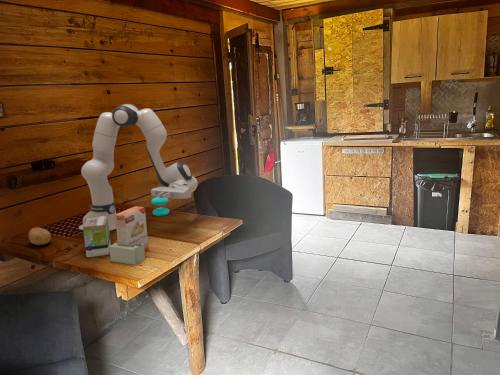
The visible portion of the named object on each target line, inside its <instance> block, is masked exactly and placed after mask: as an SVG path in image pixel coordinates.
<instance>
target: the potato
mask: <svg viewBox="0 0 500 375" xmlns="http://www.w3.org/2000/svg"><path fill="white" fill-rule="evenodd" d="M51 239H52V234H51V233H50V231H49V230H47V229H45V228H41V227H33V228H31V229H30V230H29V231H28V240H29V241H30V243H31V244H33V245H36V246H42V245H43V246H44V244H45V245H47V244H48V243H50V242H51V241H50V240H51Z"/></svg>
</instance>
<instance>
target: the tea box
mask: <svg viewBox="0 0 500 375" xmlns="http://www.w3.org/2000/svg"><path fill="white" fill-rule="evenodd" d="M82 232H83V237H84V245H85V246H84V248H85V256H86V258H93V257H101V256H107V255H110V249H109V246H110V245H112V244H111V235H110V231H109V224H108V217H107V216H101V217H92V218H86V221H85V223H84V226H83V230H82Z"/></svg>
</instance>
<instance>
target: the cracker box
mask: <svg viewBox="0 0 500 375" xmlns="http://www.w3.org/2000/svg"><path fill="white" fill-rule="evenodd" d="M115 220H116V229H115V230H116V237H117V240H118V245H119V246H126V247H134V246H136V243H138V242H141V243H142V244H144V252H147V251H148V250H150V249H149V240H148V229H147V216H146V207H143V206H137V205H134V206H133V207H130V208H128V209H125V210H123V211H121V212H118V213H116V215H115Z"/></svg>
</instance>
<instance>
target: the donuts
mask: <svg viewBox="0 0 500 375" xmlns="http://www.w3.org/2000/svg"><path fill="white" fill-rule="evenodd" d="M167 203H169V198H159V197H153V198H152V199H151V204H153V205H154V206H163V205H166V204H167ZM152 214H153V216H155V217H164V216H167V215H169V214H170V209H169V208H167V207H157V208H155V209H153V211H152Z"/></svg>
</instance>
